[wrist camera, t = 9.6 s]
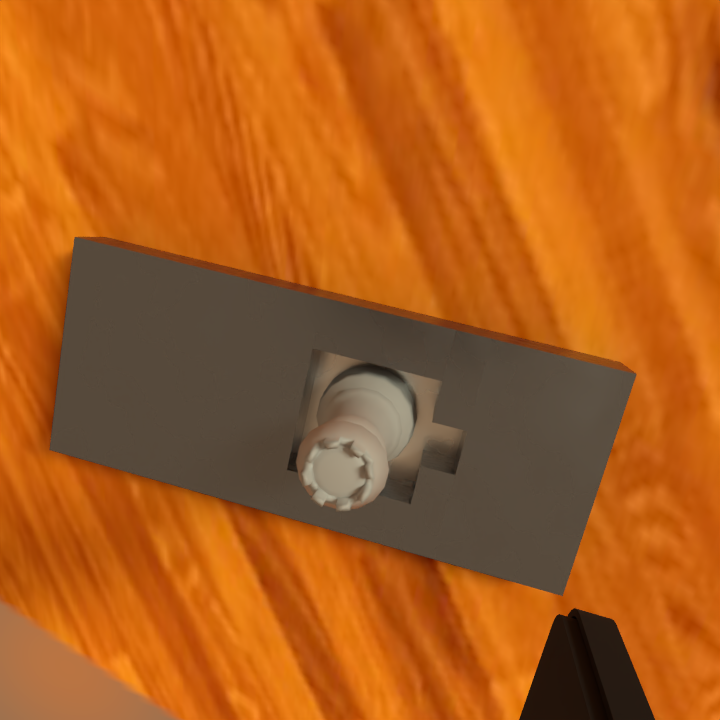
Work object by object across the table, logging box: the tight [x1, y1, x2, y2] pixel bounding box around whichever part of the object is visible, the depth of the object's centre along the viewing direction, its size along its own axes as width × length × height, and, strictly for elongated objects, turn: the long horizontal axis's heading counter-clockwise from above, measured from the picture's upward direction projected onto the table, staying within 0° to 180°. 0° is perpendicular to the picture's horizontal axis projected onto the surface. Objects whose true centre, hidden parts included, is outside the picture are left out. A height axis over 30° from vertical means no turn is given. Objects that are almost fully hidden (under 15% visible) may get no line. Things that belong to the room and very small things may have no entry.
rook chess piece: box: [296, 366, 417, 512], centre depth 24 cm, size 4×4×8 cm
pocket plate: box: [50, 237, 636, 596], centre depth 27 cm, size 10×24×2 cm, turn 77°
